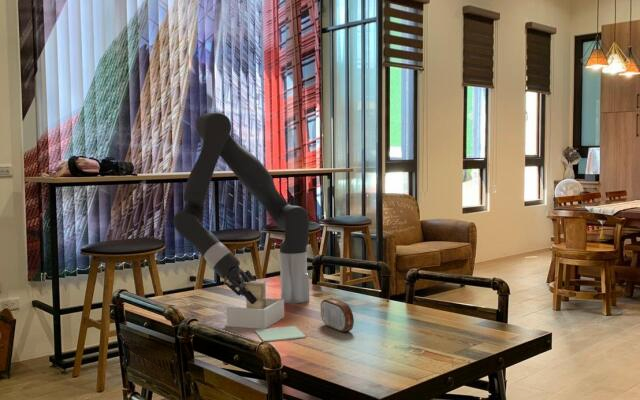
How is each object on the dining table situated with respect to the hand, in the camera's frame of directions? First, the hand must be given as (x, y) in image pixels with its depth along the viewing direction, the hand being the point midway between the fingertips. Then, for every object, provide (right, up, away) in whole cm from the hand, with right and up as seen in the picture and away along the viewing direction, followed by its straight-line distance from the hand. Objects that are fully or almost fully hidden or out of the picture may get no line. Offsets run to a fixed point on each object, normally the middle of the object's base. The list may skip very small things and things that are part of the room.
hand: (258, 300), depth 205 cm
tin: (+24, -7, -10) cm, 27 cm away
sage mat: (+7, -7, -15) cm, 18 cm away
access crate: (-1, -7, +1) cm, 7 cm away
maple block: (-1, -4, 0) cm, 5 cm away
